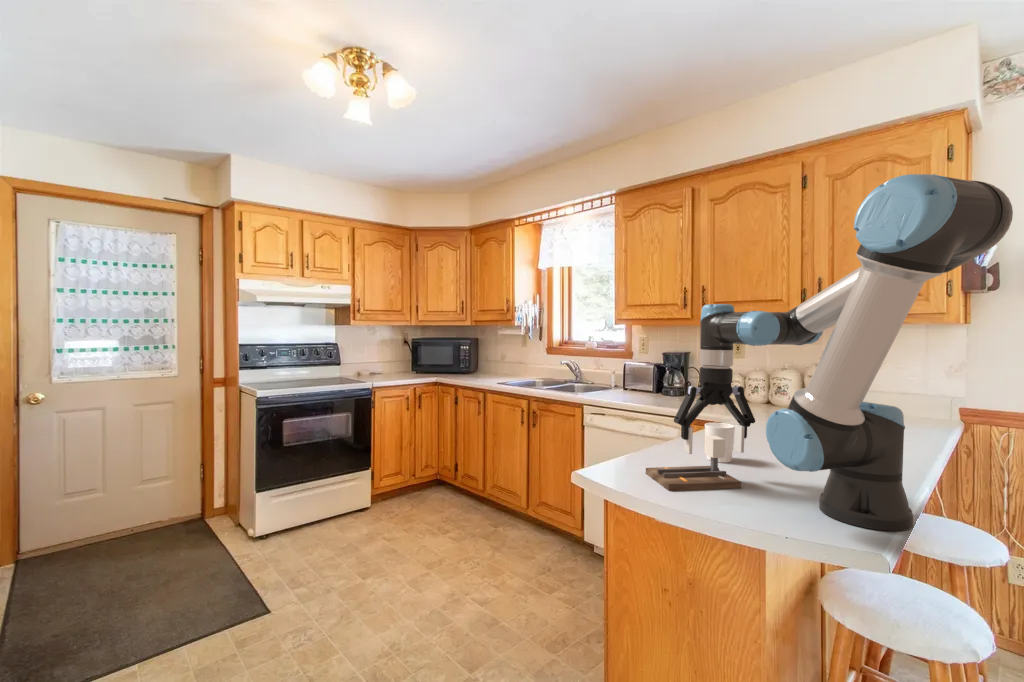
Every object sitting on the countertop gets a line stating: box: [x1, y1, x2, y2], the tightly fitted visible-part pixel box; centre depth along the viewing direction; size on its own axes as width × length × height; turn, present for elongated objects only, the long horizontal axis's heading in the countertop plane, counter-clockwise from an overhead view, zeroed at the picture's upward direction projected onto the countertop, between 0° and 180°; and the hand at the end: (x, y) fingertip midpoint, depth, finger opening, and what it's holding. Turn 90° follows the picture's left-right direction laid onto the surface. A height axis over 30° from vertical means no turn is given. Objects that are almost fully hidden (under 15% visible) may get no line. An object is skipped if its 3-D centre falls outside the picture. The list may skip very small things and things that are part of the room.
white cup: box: [704, 422, 735, 464], centre depth 136 cm, size 8×8×10 cm
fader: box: [704, 435, 725, 471], centre depth 118 cm, size 4×3×8 cm
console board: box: [645, 465, 742, 492], centre depth 117 cm, size 13×18×2 cm
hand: (713, 452), depth 118 cm, fingers open, 13 cm apart
